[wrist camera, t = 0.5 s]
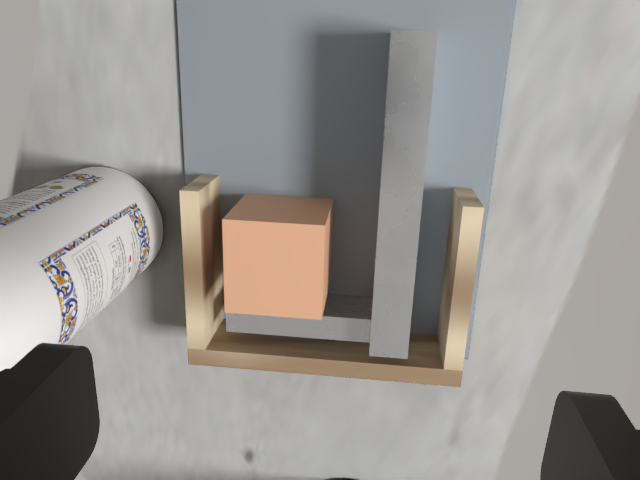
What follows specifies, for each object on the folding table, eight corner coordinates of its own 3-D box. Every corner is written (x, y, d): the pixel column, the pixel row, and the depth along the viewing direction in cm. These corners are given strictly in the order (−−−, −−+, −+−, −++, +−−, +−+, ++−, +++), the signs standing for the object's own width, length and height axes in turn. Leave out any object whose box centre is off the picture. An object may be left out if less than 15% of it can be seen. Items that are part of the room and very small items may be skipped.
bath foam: (34, 225, 34) (-400, 446, 15) (92, 139, 32) (-327, 271, 13) (125, 296, 35) (-174, 587, 16) (189, 217, 33) (-71, 446, 14)
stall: (203, 173, 32) (179, 190, 28) (471, 187, 30) (484, 207, 27) (209, 330, 35) (188, 364, 31) (451, 349, 34) (460, 386, 30)
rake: (233, 27, 29) (209, 24, 25) (429, 33, 28) (438, 31, 24) (239, 307, 34) (219, 343, 30) (404, 320, 33) (407, 359, 29)
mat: (177, -9, 29) (175, -10, 28) (515, -1, 27) (516, -2, 27) (194, 336, 35) (192, 337, 35) (467, 357, 34) (467, 359, 34)
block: (245, 194, 32) (222, 219, 27) (333, 198, 31) (325, 225, 26) (246, 275, 33) (224, 312, 29) (330, 281, 33) (321, 319, 28)
